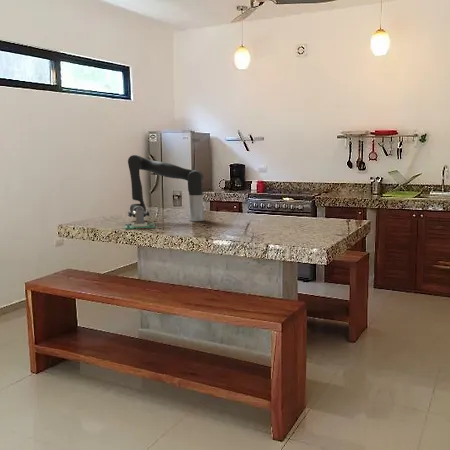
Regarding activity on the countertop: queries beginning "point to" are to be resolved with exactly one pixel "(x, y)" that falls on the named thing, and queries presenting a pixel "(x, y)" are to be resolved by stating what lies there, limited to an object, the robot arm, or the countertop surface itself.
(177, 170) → the robot arm
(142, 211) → the plug
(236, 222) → the countertop surface
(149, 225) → the mount board
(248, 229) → the countertop surface
